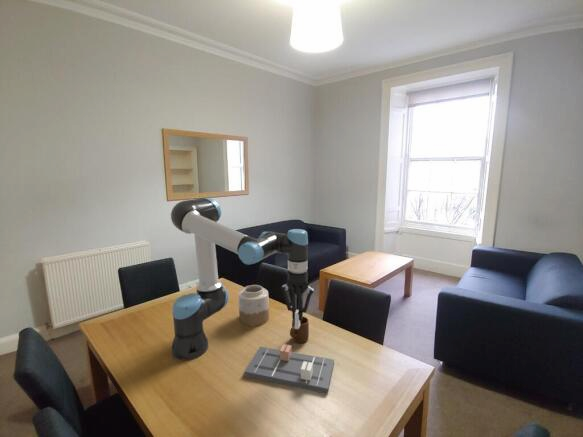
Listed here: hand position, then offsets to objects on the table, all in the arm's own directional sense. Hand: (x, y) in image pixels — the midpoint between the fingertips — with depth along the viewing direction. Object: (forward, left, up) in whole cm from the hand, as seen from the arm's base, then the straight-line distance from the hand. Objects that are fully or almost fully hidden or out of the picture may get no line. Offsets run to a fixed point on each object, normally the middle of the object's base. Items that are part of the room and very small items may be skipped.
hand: (297, 327), depth 115 cm
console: (-2, -4, -16) cm, 17 cm away
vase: (-31, +28, -17) cm, 45 cm away
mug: (-4, +15, -17) cm, 23 cm away
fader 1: (-5, 0, -14) cm, 15 cm away
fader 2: (+6, -8, -14) cm, 17 cm away
